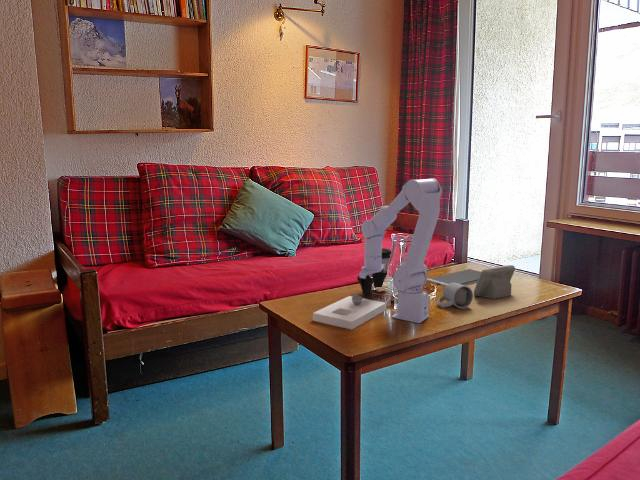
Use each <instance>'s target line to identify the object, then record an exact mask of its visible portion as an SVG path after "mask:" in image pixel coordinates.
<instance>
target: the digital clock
mask: <svg viewBox="0 0 640 480" xmlns="http://www.w3.org/2000/svg"><path fill="white" fill-rule="evenodd" d="M515 270H516V266H514V265H512V264H510V265H502V266H495V267H490V268H485V269H482V270H481V271H480V272H481V274H480V276H479V279H478V281H477V283H475V284H476V285H475V288H474V290H473V296H475V297H485V296H486V297H485V298H488V299H491V298H492V299H491V300H496V298H497V299H501V297H502V298H505V296H507V297H510V296H509V295H511V296H512V283H511V280H512V278H513V276H514V273H515Z"/></svg>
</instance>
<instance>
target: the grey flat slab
mask: <svg viewBox="0 0 640 480" xmlns="http://www.w3.org/2000/svg"><path fill="white" fill-rule="evenodd" d="M480 274H481V271H480V270H475V269H472V268H468V269H464V270H461V271H455V272H451V273H447V274H442V275H438V276H433V277H427V281H426V283H431V284H435V285H439V286H441V287H444V288H445V286H446V285H448V284H449V283H458V284H461V285H465V286H468V285H473V284H477V281H478V279H479V276H480Z"/></svg>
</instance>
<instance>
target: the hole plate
mask: <svg viewBox="0 0 640 480" xmlns="http://www.w3.org/2000/svg"><path fill="white" fill-rule="evenodd" d="M352 297H353V295H348V296H346V297H344V298H343V299H342V298H341V299H340V300H338V301H335V302H334V303H330V304H328V305H327V306H325V307H322V308H320V309H318V310H317V311H314V312H312V321H314V322H317V323H321V324H326V325H330V326H334V327H339V328H343V329H348V330H354V329H356V328H357V327H359V326H361V325H363V324H365V323H366V322H368V321H369V320H371V319H373V318H375V317H376V316H378V315H381V314H382V313H384V312H386V311H387V302H384V301H379V300H373V299H370V298H364V297H362V299H363V300H362V303H361V304H359V305H355V304H354V303H353V302H352Z"/></svg>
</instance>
